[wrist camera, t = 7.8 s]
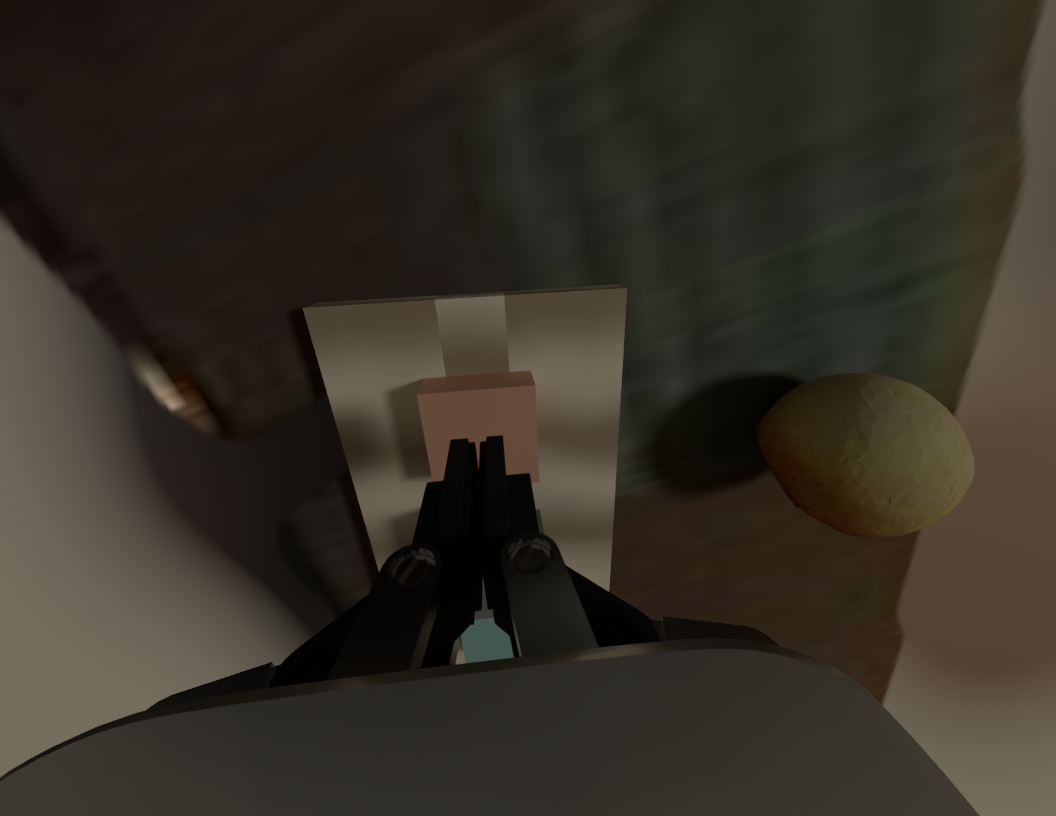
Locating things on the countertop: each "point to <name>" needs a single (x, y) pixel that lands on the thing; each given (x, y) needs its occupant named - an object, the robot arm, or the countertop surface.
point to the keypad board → (471, 349)
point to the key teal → (485, 642)
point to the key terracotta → (481, 417)
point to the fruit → (867, 454)
